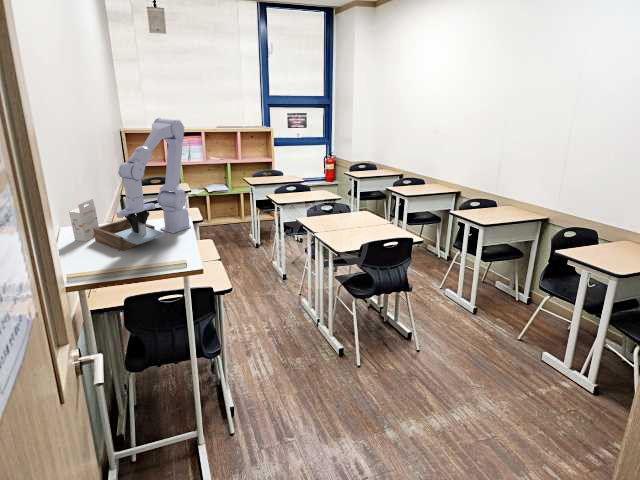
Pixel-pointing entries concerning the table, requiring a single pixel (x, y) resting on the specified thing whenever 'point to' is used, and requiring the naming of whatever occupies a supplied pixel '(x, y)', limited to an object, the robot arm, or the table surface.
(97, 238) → the walnut box
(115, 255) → the table surface
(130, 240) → the cover plate
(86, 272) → the table surface
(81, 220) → the ink cartridge box
